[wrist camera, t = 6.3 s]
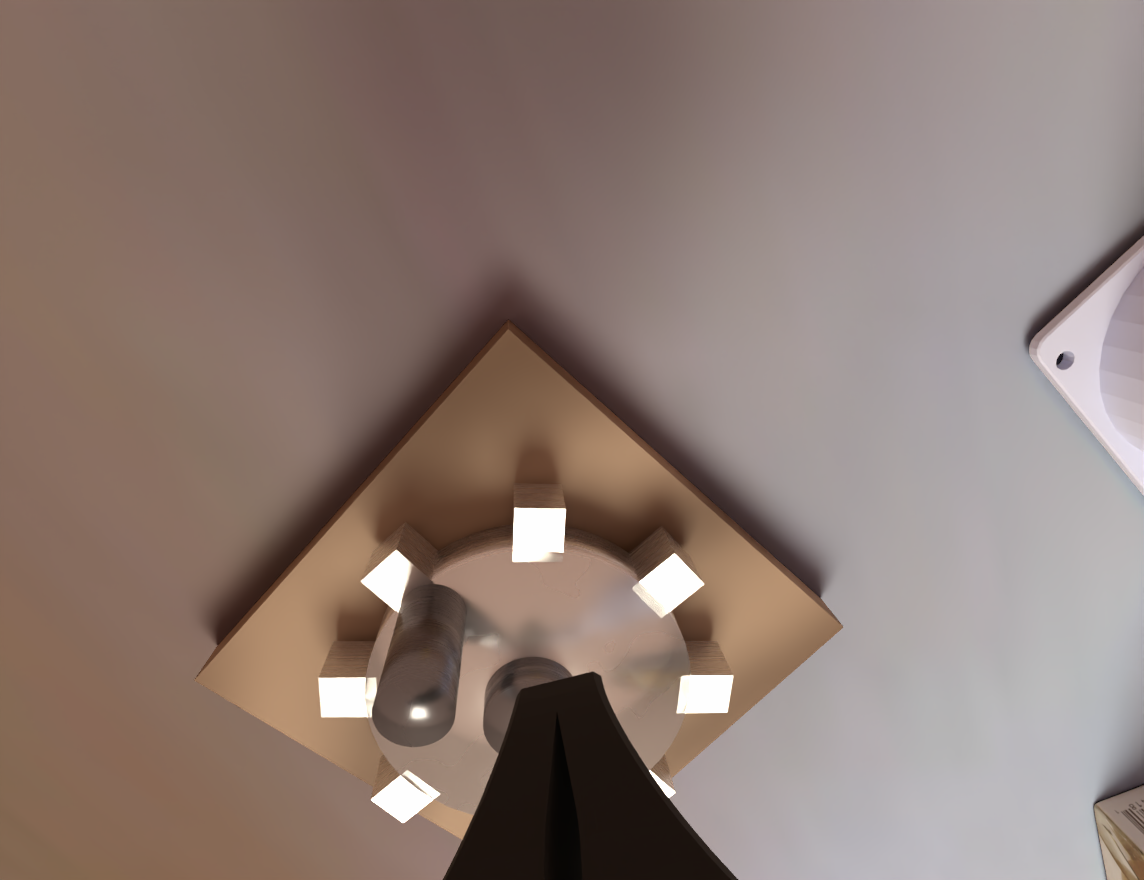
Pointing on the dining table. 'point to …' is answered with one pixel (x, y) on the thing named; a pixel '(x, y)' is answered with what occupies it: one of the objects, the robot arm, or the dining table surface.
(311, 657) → the index board
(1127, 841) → the coffee box
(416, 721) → the sprocket
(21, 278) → the dining table surface
